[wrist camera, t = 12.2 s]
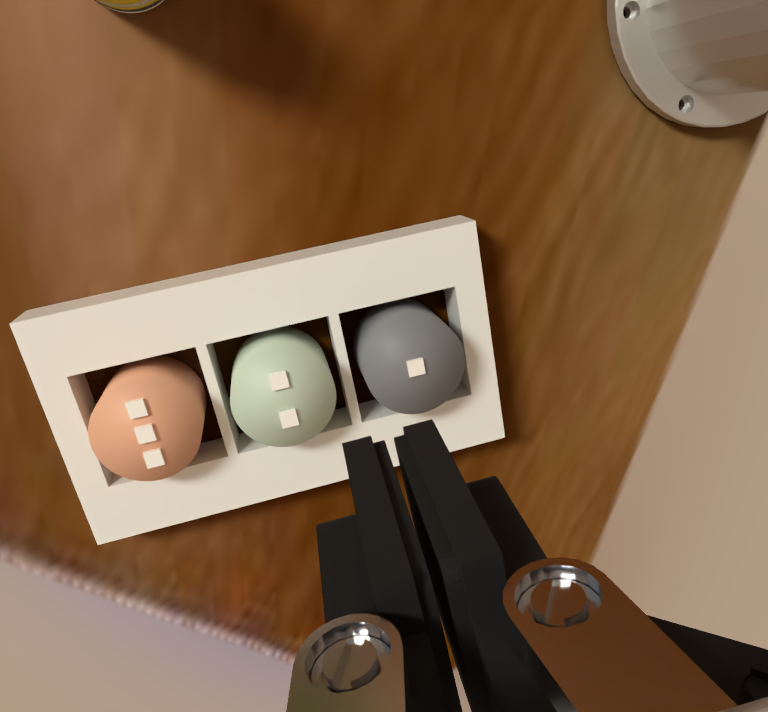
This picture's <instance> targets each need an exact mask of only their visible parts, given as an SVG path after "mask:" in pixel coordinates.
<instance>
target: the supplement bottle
mask: <svg viewBox="0 0 768 712" xmlns="http://www.w3.org/2000/svg"><path fill="white" fill-rule="evenodd" d="M95 1H96V2H98V3H100V4H101V5H103V6H105V7H107V8H109V9H111V10H114V11H118V12H123V13H140V12H144V11H148V10H150V9H152V8H154V7H156V6H158V5H159V4H161V3H162V2H163V1H164V0H95Z"/></svg>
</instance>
